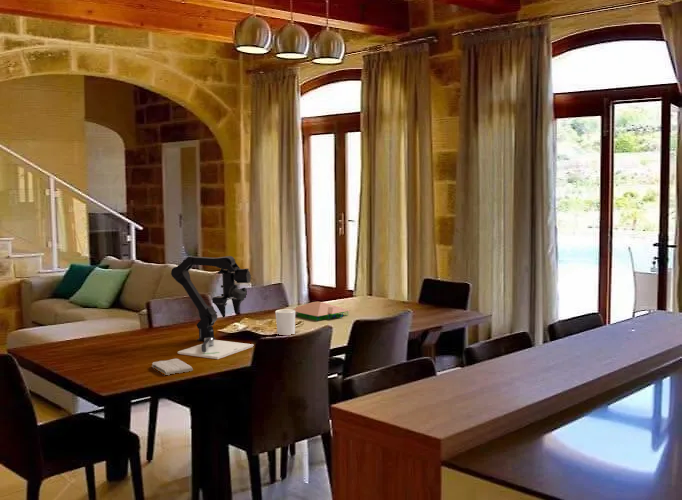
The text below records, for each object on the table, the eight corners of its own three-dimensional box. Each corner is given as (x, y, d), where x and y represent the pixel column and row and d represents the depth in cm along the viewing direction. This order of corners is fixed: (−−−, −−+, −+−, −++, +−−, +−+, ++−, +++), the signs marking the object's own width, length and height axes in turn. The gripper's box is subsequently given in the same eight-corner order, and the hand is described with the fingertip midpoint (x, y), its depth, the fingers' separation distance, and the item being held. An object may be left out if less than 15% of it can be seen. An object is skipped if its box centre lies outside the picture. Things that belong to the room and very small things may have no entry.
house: (321, 323, 383) (320, 307, 382) (284, 315, 408) (283, 300, 407) (353, 316, 397) (353, 302, 397) (316, 309, 423) (316, 295, 422)
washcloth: (176, 363, 308) (176, 356, 307) (194, 372, 293) (193, 364, 292) (149, 368, 301) (149, 361, 300) (165, 377, 286) (165, 369, 286)
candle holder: (278, 338, 348) (277, 313, 347) (274, 333, 358) (273, 309, 356) (298, 336, 351) (297, 311, 350) (294, 332, 360) (293, 308, 359)
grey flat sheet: (177, 353, 323) (177, 351, 322) (214, 341, 344) (214, 339, 344) (217, 359, 311) (217, 356, 311) (253, 346, 332) (253, 344, 332)
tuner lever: (205, 344, 333) (204, 337, 333) (214, 344, 333) (213, 336, 333) (199, 353, 317) (198, 345, 317) (208, 353, 317) (208, 345, 317)
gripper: (229, 286, 332) (230, 320, 333) (254, 281, 347) (255, 313, 349) (210, 285, 337) (212, 318, 339) (236, 279, 353) (237, 311, 355)
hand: (230, 315), depth 345 cm, fingers open, 9 cm apart
